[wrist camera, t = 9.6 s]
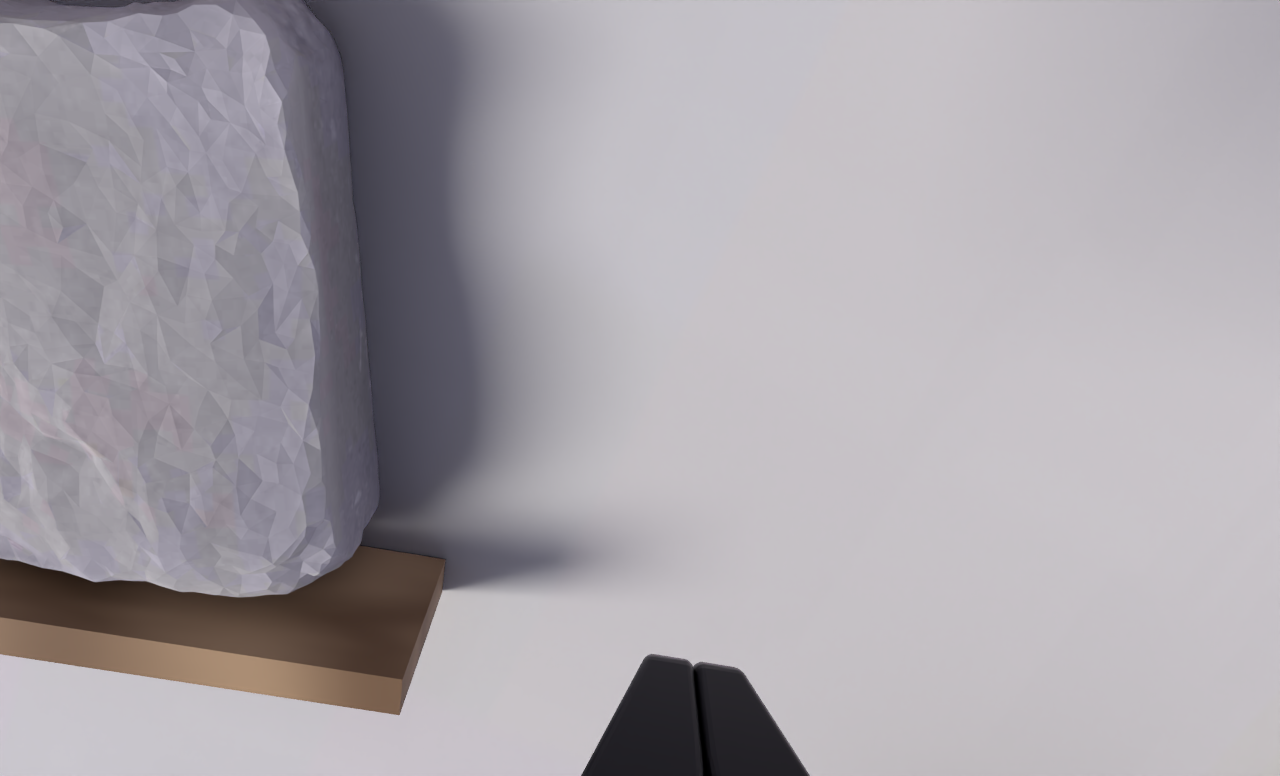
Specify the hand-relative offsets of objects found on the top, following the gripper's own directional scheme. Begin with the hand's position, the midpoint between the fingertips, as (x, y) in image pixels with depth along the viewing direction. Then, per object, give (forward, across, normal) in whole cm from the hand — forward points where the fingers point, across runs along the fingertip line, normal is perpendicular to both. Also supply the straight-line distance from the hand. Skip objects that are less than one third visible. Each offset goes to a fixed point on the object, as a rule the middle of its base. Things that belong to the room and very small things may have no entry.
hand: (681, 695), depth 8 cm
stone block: (+12, +11, +2) cm, 17 cm away
